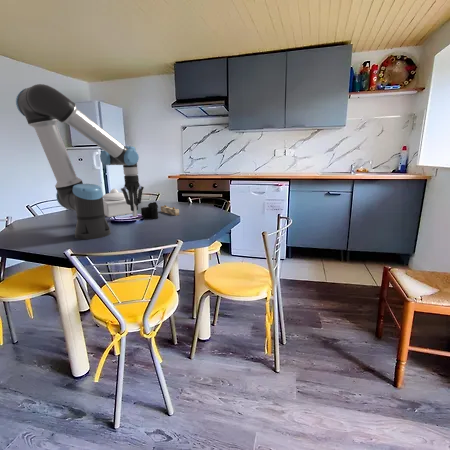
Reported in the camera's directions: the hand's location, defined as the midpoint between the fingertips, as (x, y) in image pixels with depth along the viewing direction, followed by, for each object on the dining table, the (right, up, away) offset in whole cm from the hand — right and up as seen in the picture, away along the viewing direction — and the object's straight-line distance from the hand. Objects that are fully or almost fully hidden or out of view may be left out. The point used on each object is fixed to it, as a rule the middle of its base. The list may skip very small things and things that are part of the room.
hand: (135, 216), depth 163 cm
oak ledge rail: (+17, +2, +15) cm, 23 cm away
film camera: (+8, -1, +5) cm, 9 cm away
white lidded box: (-17, +2, +19) cm, 25 cm away
